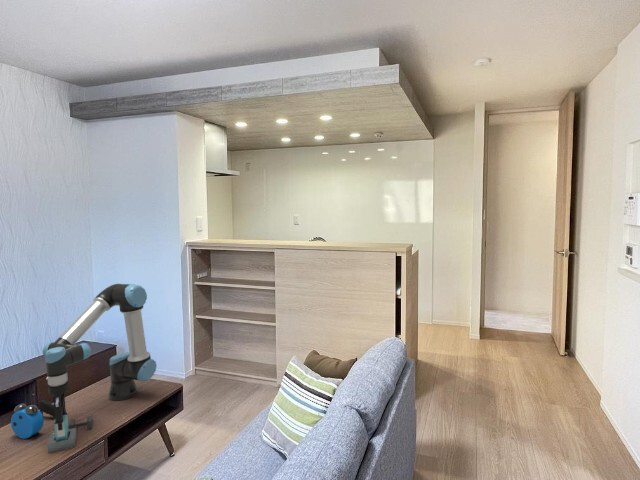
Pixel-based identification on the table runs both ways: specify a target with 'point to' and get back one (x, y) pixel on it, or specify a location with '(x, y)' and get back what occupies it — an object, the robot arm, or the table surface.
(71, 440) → the port panel
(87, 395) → the table surface
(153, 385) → the table surface
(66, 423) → the plug
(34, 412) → the alarm clock
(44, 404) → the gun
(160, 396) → the table surface
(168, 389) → the table surface
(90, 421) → the grey u-shaped bracket
